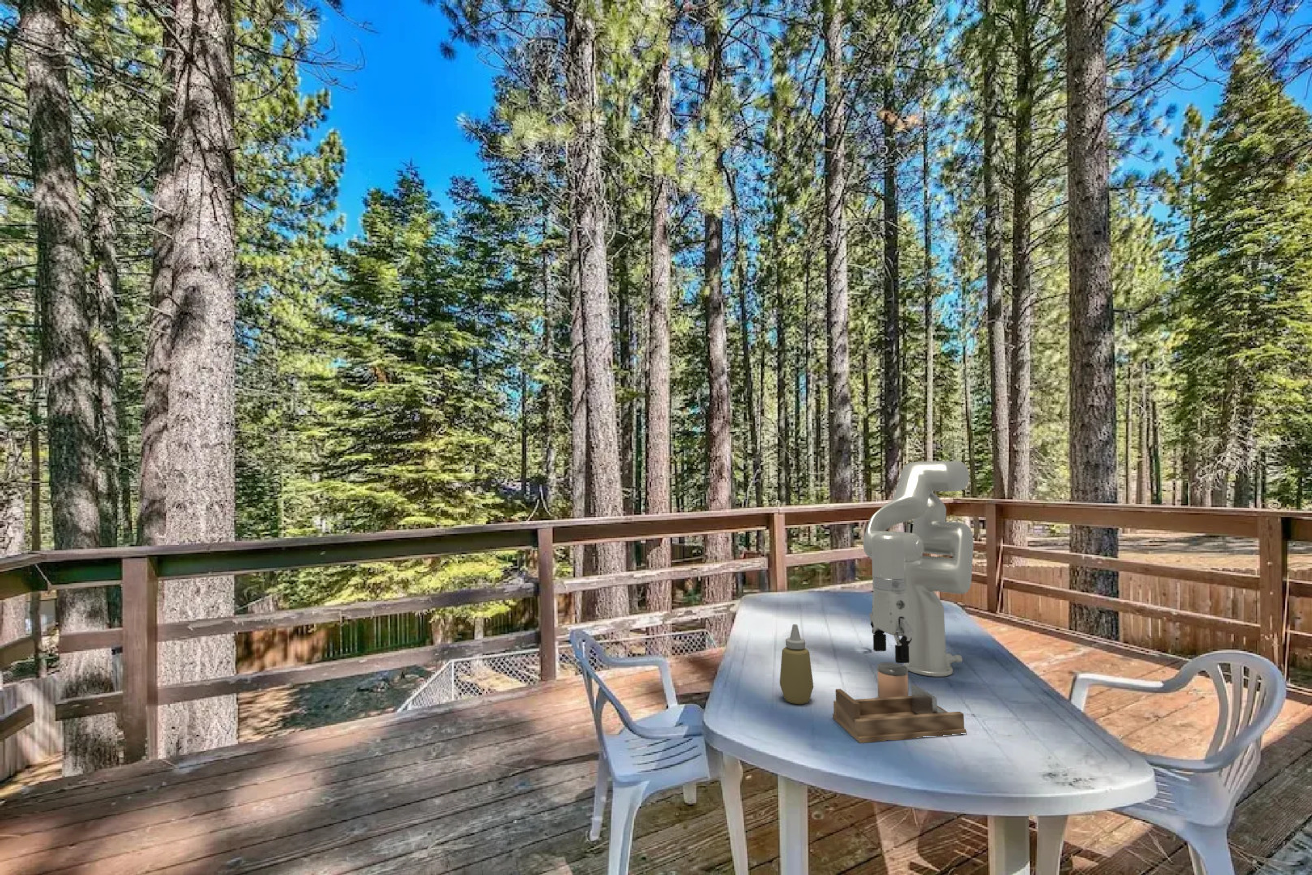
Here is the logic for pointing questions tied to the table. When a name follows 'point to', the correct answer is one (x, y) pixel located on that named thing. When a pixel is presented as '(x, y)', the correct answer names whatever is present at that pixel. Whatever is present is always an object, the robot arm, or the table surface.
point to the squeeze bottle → (796, 670)
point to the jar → (892, 680)
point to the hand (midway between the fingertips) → (890, 656)
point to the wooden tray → (891, 719)
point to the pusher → (923, 702)
